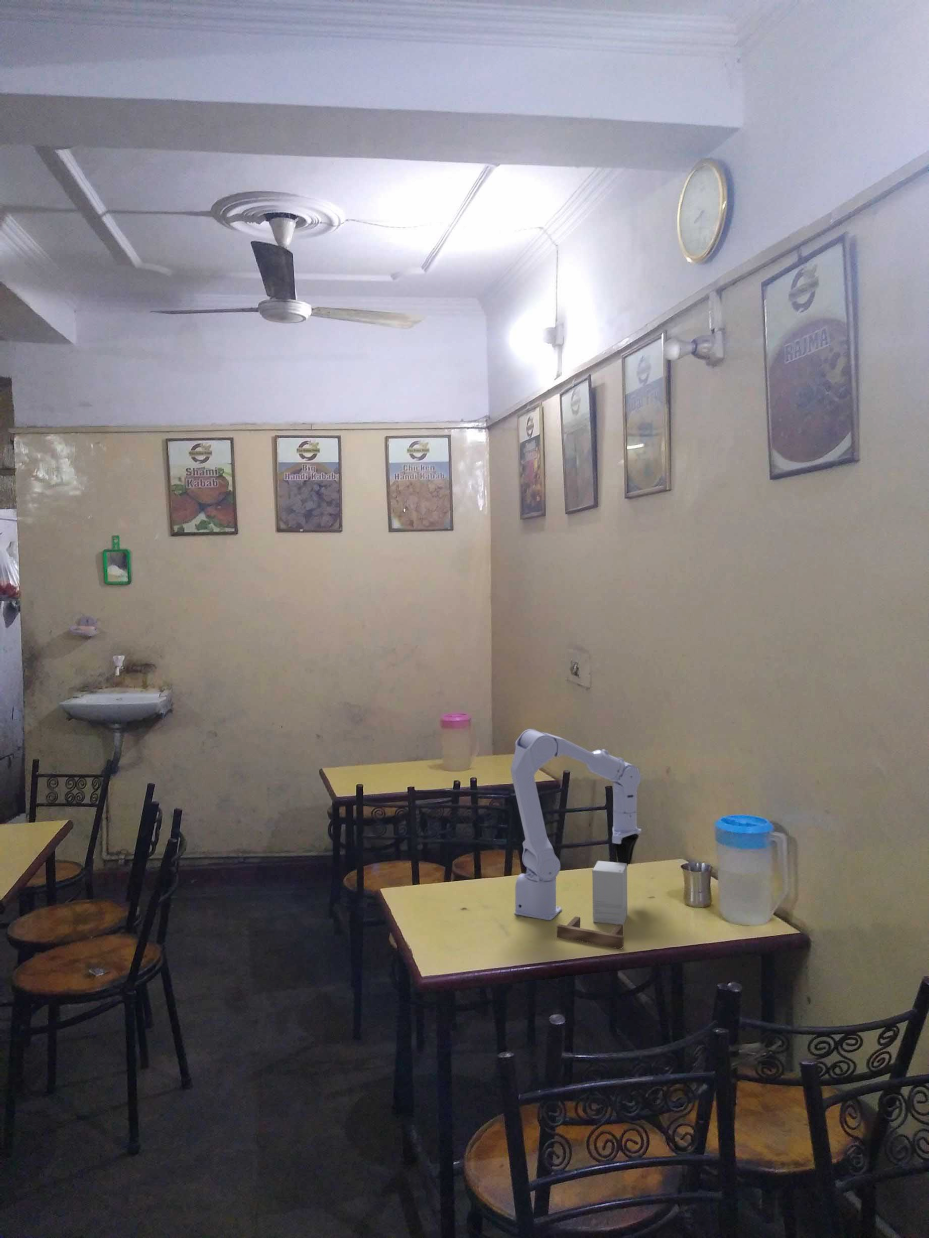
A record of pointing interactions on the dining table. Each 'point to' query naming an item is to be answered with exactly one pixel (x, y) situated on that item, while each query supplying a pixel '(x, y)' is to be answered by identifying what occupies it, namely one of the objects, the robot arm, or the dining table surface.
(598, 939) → the walnut clip
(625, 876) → the supplement box
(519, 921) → the dining table surface
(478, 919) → the dining table surface
